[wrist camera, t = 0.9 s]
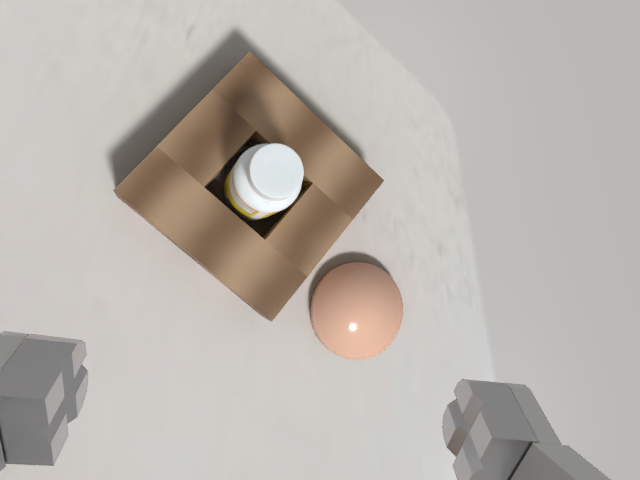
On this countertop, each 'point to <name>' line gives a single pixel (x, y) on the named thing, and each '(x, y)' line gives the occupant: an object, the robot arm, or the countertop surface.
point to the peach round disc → (356, 310)
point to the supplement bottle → (263, 181)
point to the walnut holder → (218, 220)
